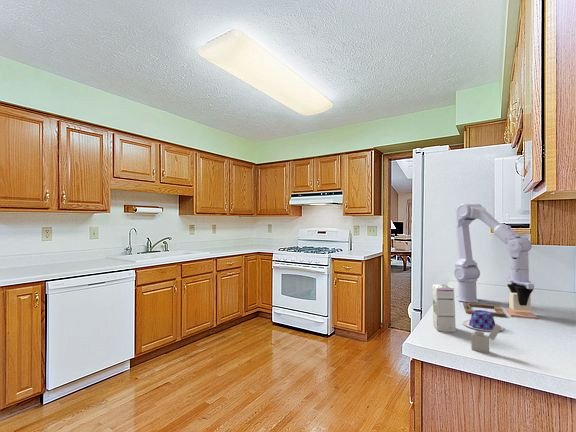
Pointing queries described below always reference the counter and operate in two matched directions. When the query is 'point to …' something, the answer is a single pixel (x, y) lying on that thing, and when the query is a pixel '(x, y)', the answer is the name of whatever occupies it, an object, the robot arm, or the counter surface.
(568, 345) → the counter surface
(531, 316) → the peach rectangular tile
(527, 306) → the cream upright block
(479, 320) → the pudding
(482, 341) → the lighter
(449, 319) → the white segmented tower
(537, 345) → the counter surface
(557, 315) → the counter surface
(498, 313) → the wooden picture frame
